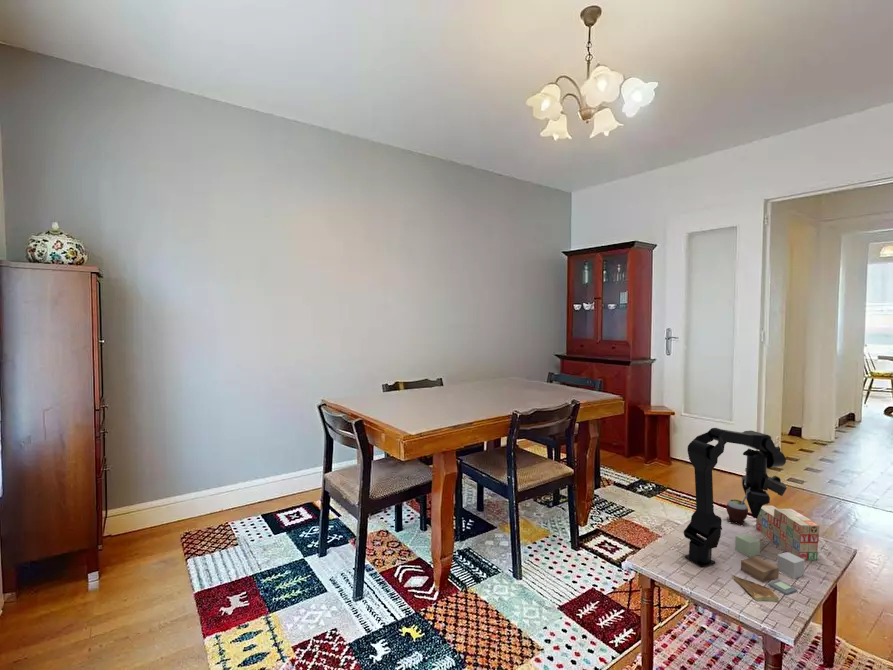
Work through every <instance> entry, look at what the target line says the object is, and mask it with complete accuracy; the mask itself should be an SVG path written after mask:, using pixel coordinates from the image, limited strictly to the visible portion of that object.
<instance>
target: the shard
mask: <svg viewBox="0 0 893 670" xmlns="http://www.w3.org/2000/svg"><path fill="white" fill-rule="evenodd" d="M732 577H733V580H734V581H735V582H736V583H737V584H738V585H740V586H741V587H742V588H743V589H744V590H746V592H747V593H748V594H749V595H750V596H751V597H752V598H753V600H755V601H756V602H758V601H759V602H760V601H761V602H762V601H763V602H764V601H765V602H777V601H778V600H779V595H777V594H776V593H775V592H774V591H773V589H771V588H769V587H767V586H765V585H761V584H758V583H756V582H753V581H751V580H747V579H744V578H741V577H739V576H736V575H734V574H732Z"/></svg>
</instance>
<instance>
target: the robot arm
mask: <svg viewBox="0 0 893 670" xmlns="http://www.w3.org/2000/svg"><path fill="white" fill-rule="evenodd" d="M713 441H717V443H716V444H715V445H713V444H710V443H711V442H713ZM773 441H774V440H772V436H771V435H769V434H765V433H762V432H758V431H755V430H743V431H736V430H734V431H733V430H728V429H722V428H718V427H711V428H710V429H709V430H708V431H706V432H704V433H702V434H700V435H697V436H696V437H695V438H694V439H692V441H690V443H689V444H687V455H688V460H689V461H690V463H691V465H692V466H693V468H694V484H695V485H694V488H695V491H694V492H695V511H694V512H693V513H692V514H691V519H690V522H689V524H688V525H687V526H686V528H685V529H684V530H683V535H684V537H685V538H686V539H688V540H689V544H688V545H689V547H688V553H687V554H685V555H684V558H686V559H687V560H689V561H690V562H692V563H693V564H696V566H699V567H700V568H703V567H707V566H711V565H714V564H716V561H715V560H713V559H712V552H713V549H716V548H718V545H719V543H720V538H721V535H722V534H721V533H722V531H723V527H722V522H723V521H722V517H720V516H719V515H716V514H715V511H714V508H715V507H714V489H713V488H714V487H713V486H714V485H713V484H714V483H713V470H714V469H715V467H716V466H717V464H718V461H719V460H718V459H719V458H720V456H721V455H722V454H723V453H724V451H725V445H726V444H727V443H729V444H730V443H731V444H736V445H743V446H746V447H749V448H747V450H745V451H744V452H742V455H743V456H746V465H745V466H746V467H745V469H744V471H745V475H744V476H742V477H741V485H742V489H743V492H744V495H746V499H745V500H746V501H747V504H748V505H747V506H748V508H749V509H750V513H751V516H752V518H754V519H756V518H757V517H758V515H759V512H760V510H761V507H762V506H766V505H768V504H770V503H771V502H770V501H771V497H770V495H769V493H768V492H767V491H768V490H769V491H771V492H774V493H775V494H777V495H779V496H781V497H783V495H784V494H785V493H786V490H787V488H788V487H787V485H786V484H785V483H783V482H782V481H781V477H779V476H777V475H773V476H769V475H768V474H767V473H768V472H767V468H769V469H770V468H778V467H783V466H785V464H786V462H787V458H786V456H785V454H784V452H781V447H777V446H776V445H775V443H774V442H773ZM751 448H752V449H751Z"/></svg>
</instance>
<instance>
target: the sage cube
mask: <svg viewBox="0 0 893 670" xmlns="http://www.w3.org/2000/svg"><path fill="white" fill-rule="evenodd" d="M734 545H735V547H734V550H735V551H737V552H739V553H741V554H743V555H745V556H747V557H748V558H751V557H754V556H758V555H759V556H760V552H761V539H758V538H756V537H755V536H753V535H750V534H748V533H742V534H738V535H735V544H734Z"/></svg>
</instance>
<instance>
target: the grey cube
mask: <svg viewBox="0 0 893 670" xmlns="http://www.w3.org/2000/svg"><path fill="white" fill-rule="evenodd" d="M776 558H777V559H776V567H778V568H779V573H780V572H781V573H782V574H784V575H786V576H788V577H789V578H791V579H797V578H800V577H803V576H805V567H806V566H805V564H806V560H804V559H802V558H800V557H798V556H795V555H793V554H791V553H789V552H787V551H786V552H783V553H779V554H777V557H776ZM802 575H803V576H802Z"/></svg>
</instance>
